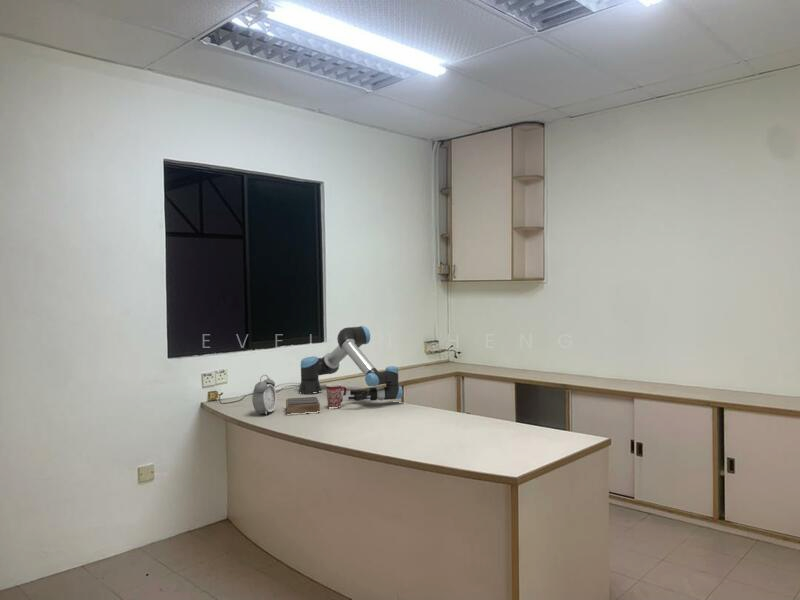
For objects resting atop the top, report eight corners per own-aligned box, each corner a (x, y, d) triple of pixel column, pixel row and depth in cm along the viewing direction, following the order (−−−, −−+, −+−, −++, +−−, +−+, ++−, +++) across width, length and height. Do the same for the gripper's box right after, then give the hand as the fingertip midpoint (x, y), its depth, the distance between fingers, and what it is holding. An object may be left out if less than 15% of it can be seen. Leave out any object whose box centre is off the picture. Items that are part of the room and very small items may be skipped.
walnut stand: (286, 408, 325) (286, 398, 325) (317, 406, 329) (317, 396, 329) (287, 415, 307) (286, 404, 307) (319, 413, 311) (319, 402, 311)
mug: (330, 410, 318) (330, 386, 318) (323, 407, 326) (323, 384, 325) (350, 407, 325) (349, 384, 325) (342, 404, 333) (342, 382, 332)
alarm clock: (265, 417, 303) (264, 377, 303) (251, 416, 305) (250, 377, 304) (278, 410, 319) (277, 372, 319) (264, 410, 321) (263, 372, 321)
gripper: (380, 404, 318) (344, 406, 313) (372, 396, 342) (338, 398, 337) (380, 391, 318) (343, 393, 313) (372, 383, 342) (338, 385, 337)
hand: (340, 396), depth 325 cm, fingers open, 13 cm apart
